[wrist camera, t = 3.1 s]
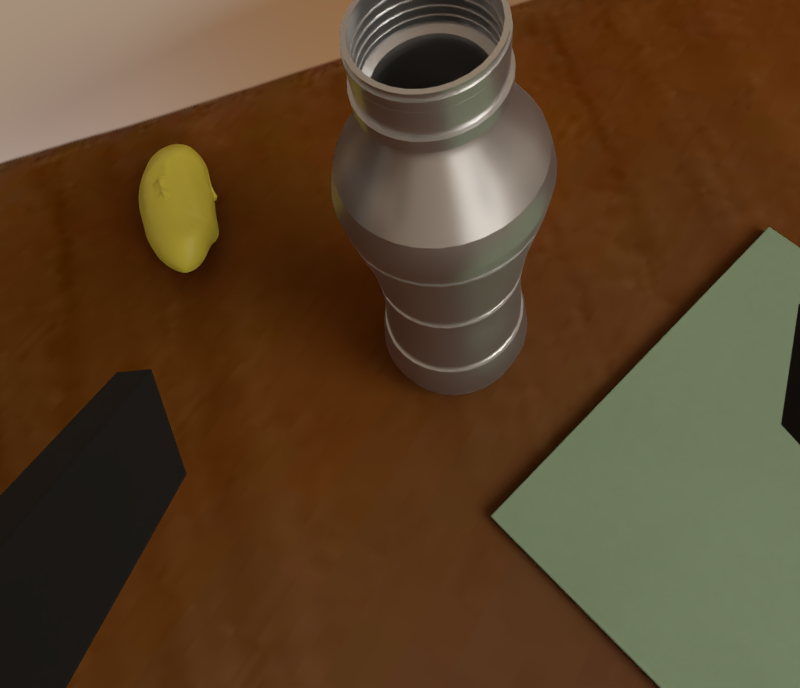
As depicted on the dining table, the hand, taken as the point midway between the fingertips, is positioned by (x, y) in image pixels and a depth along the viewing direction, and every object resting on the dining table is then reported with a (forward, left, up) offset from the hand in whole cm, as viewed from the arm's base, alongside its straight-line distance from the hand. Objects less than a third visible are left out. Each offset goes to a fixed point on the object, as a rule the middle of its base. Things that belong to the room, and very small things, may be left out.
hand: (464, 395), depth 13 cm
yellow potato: (-22, -1, -18) cm, 28 cm away
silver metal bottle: (-6, +5, -18) cm, 19 cm away
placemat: (+8, +10, -17) cm, 22 cm away
